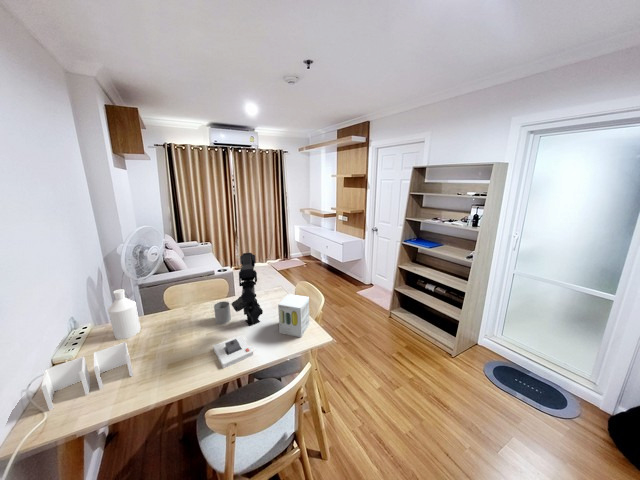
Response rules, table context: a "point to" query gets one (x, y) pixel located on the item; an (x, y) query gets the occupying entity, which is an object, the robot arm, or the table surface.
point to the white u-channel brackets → (83, 370)
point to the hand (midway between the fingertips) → (251, 319)
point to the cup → (222, 312)
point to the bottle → (124, 316)
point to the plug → (232, 346)
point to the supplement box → (294, 315)
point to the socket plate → (234, 357)
